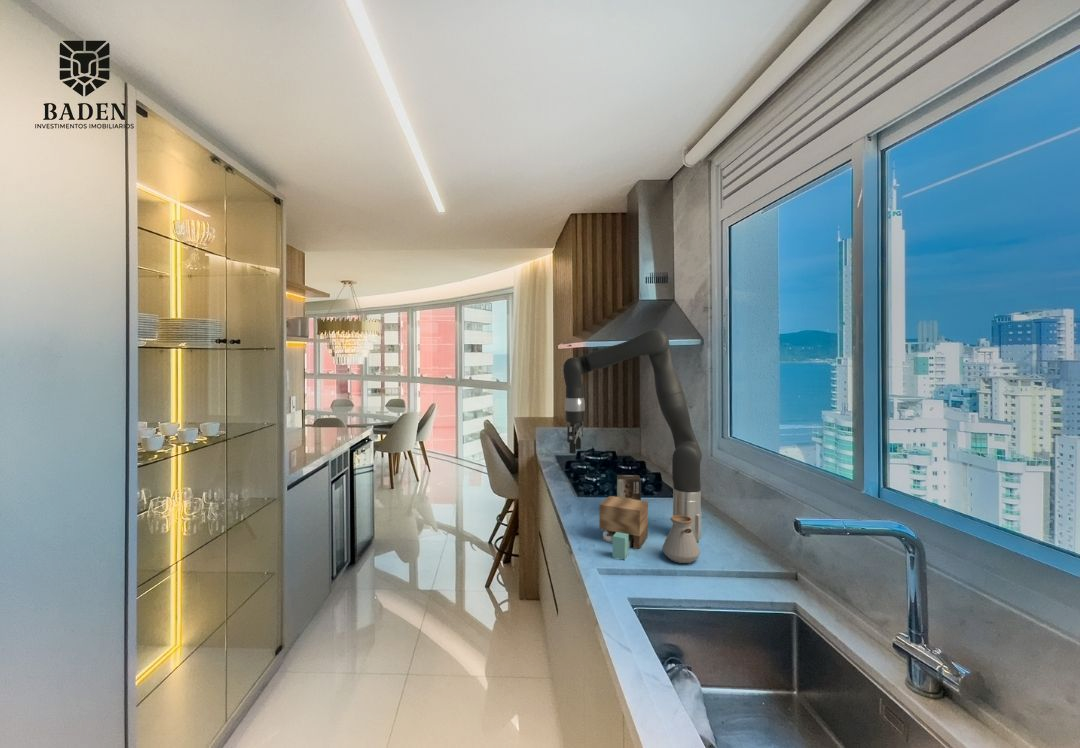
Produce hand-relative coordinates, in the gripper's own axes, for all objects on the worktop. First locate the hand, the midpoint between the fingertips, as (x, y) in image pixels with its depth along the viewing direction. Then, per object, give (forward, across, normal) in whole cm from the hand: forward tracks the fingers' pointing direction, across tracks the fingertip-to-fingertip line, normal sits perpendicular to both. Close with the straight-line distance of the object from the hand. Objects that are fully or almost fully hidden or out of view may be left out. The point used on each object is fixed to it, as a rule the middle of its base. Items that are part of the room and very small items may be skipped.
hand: (575, 451), depth 176 cm
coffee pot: (+28, -26, -41) cm, 56 cm away
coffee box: (+28, +12, -19) cm, 35 cm away
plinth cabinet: (+28, -12, -20) cm, 36 cm away
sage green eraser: (+28, -20, -22) cm, 41 cm away
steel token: (+28, -14, -16) cm, 35 cm away
